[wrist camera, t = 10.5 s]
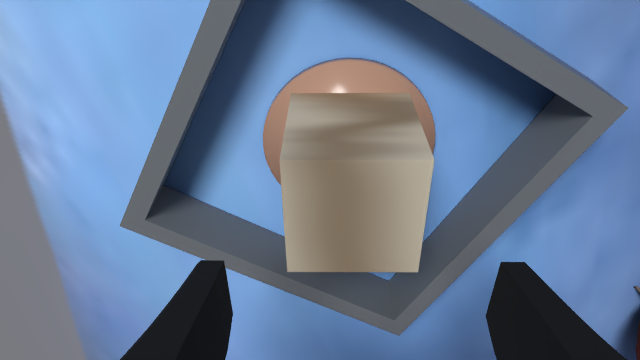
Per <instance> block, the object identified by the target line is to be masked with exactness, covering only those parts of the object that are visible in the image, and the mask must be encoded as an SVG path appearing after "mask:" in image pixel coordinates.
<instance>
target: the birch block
mask: <svg viewBox="0 0 640 360" xmlns="http://www.w3.org/2000/svg"><path fill="white" fill-rule="evenodd" d="M433 166H434V157H433V155H432V152H431V149H430V147H429V144H428V141H427V139H426V136H425V133H424V131H423V128H422V125H421V123H420V120H419V117H418V115H417V112H416V109H415V107H414V104H413V101H412V99H411V96H410V93H291V97H290V103H289V108H288V114H287V120H286V126H285V132H284V137H283V143H282V149H281V155H280V173H281V188H282V202H283V217H284V231H285V246H286V260H287V272H418V269H419V262H420V255H421V248H422V242H423V235H424V228H425V221H426V214H427V207H428V200H429V193H430V186H431V179H432V173H433Z"/></svg>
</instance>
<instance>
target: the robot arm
mask: <svg viewBox="0 0 640 360" xmlns="http://www.w3.org/2000/svg"><path fill="white" fill-rule="evenodd" d="M232 316H233V312H232V306H231V300H230V294H229V287H228V281H227V275H226V269H225V263H224V261H223V260H201V261H200V262H199V263H198V264H197V265H196V266H195V268H194V269H193V271H192V272H191V273H190V275H189V276H188V278H187V279H186V280H185V282H184V283H183V284H182V286H181V287H180V288H179V290H178V291H177V292H176V294H175V295H174V296H173V298H172V299H171V300H170V302H169V303H168V304H167V305H166V307H165V308H164V309H163V310H162V312H161V313H160V314H159V315H158V317H157V318H156V319H155V320H154V322H153V323H152V324H151V325H150V326H149V328H148V329H147V330H146V331H145V332H144V333H143V334H142V336H141V337H140V338H139V339H138V340H137V341H136V342H135V343H134V345H133V346H132V347H131V348H130V349H129V350H128V351H127V353H126V354H125V355H124V356H123V357H122V358H121V359H120V360H225V358H226V354H227V350H228V343H229V337H230V330H231V323H232ZM486 319H487V323H488V327H489V332H490V336H491V340H492V344H493V348H494V352H495V355H496V358H497V360H626V359H625V358H624V357H623V356H622V355H621V354H619V353H618V352H617V351H616V350H615V349H614V348H612V347H611V346H610V345H609V344H608V343H607V342H606V341H605V340H603V339H602V338H601V337H600V336H599V335H598V334H597V333H596V332H595V331H594V330H593V329H592V328H590V327H589V326H588V325H587V324H586V323H585V322H584V321H583V320H582V319H581V318H580V317H579V316H578V315H577V314H576V313H575V312H574V311H573V310H572V309H571V308H570V307H569V306H568V305H567V304H566V303H565V302H564V301H563V300H562V299H561V298H560V297H559V296H558V295H557V294H556V293H555V292H554V291H553V290H552V289H551V288H550V287H549V286H548V285H547V284H546V283H545V282H544V281H543V280H542V279H541V278H540V277H539V276H538V275H537V274H536V273H535V272H534V271H533V270H532V269H531V268H530V267H529V266H528V265H527V264H526V263H525V262H501V264H500V267H499V271H498V274H497V278H496V281H495V285H494V288H493V292H492V296H491V299H490V303H489V306H488V310H487V313H486Z"/></svg>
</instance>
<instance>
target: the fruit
mask: <svg viewBox="0 0 640 360" xmlns="http://www.w3.org/2000/svg"><path fill="white" fill-rule="evenodd" d="M634 288H635V287H634ZM635 289H636V290H637V291H638V292H639V293H640V288H639V287H637V286H636V288H635ZM636 354H637V360H640V321H639V327H638V334H637V344H636Z"/></svg>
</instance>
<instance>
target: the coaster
mask: <svg viewBox="0 0 640 360" xmlns="http://www.w3.org/2000/svg"><path fill="white" fill-rule="evenodd" d="M291 93H410V96H411V99H412V101H413V104H414V107H415V109H416V112H417V115H418V117H419V120H420V123H421V125H422V128H423V131H424V133H425V136H426V139H427V141H428V144H429V147H430V149H431V152H432V154H433V150H434V145H435V126H434V121H433V117H432V113H431V111H430V109H429V106H428V104H427V102H426V100H425V98H424V96H423V95H422V93H421V91H420V90H419V89H418V88H417V87H416V85H415V84H414V83H413V82H412V81H411V80H410V79H408V78H407V77H406V76H405V75H404V74H402V73H401V72H399V71H398V70H396V69H394V68H392V67H390V66H388V65H386V64H383V63H380V62H377V61H374V60H368V59H363V58H340V59H334V60H329V61H325V62H322V63H319V64H316V65H313V66H311V67H309V68H307V69H305V70H303V71H302V72H300V73H299V74H297V75H296V76H294V77H293V78H292V79H291V80H290V81H289V82H288V83H286V84H285V85H284V87H283V88H282V89H281V90H280V91H279V93H278V94H277V96H276V97H275V99H274V100H273V102H272V104H271V106H270V109H269V111H268V114H267V117H266V121H265V125H264V132H263V147H264V153H265V157H266V160H267V163H268V166H269V168H270V170H271V172H272V174H273V175H274V177H275V178H276V180H277V181H278V182H279V183H280V185H281V173H280V155H281V149H282V143H283V137H284V132H285V126H286V120H287V114H288V108H289V103H290V97H291Z"/></svg>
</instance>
